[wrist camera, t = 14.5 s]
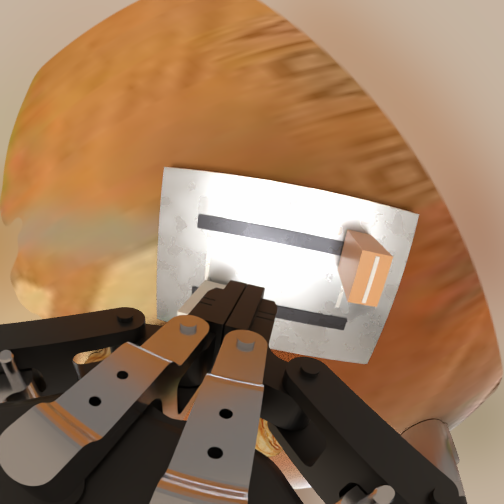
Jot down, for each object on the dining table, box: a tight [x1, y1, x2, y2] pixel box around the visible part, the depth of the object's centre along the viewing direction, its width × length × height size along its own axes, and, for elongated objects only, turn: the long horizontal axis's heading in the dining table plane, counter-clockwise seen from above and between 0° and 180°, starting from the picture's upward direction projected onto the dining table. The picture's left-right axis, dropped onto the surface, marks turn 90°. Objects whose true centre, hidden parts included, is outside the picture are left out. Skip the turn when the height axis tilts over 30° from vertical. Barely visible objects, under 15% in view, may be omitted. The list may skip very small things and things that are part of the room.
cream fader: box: [177, 280, 226, 316], centre depth 25 cm, size 2×4×7 cm, turn 171°
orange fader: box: [337, 229, 393, 307], centre depth 21 cm, size 2×4×7 cm, turn 172°
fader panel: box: [157, 167, 419, 364], centre depth 28 cm, size 26×18×2 cm
